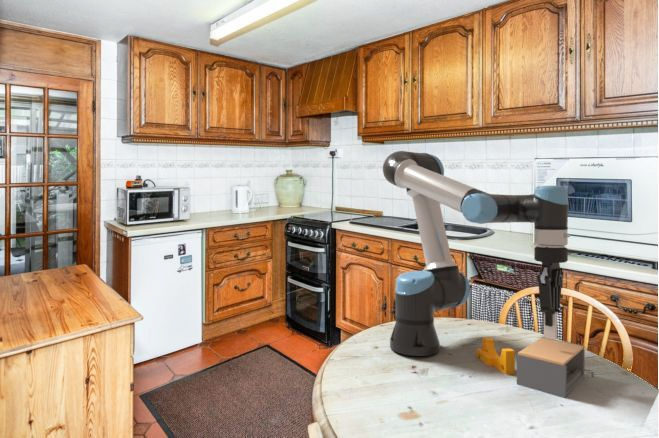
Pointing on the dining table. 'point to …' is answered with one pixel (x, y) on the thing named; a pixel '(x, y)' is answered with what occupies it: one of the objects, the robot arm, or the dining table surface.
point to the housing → (551, 374)
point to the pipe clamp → (497, 356)
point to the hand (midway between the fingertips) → (550, 337)
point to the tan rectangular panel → (551, 350)
